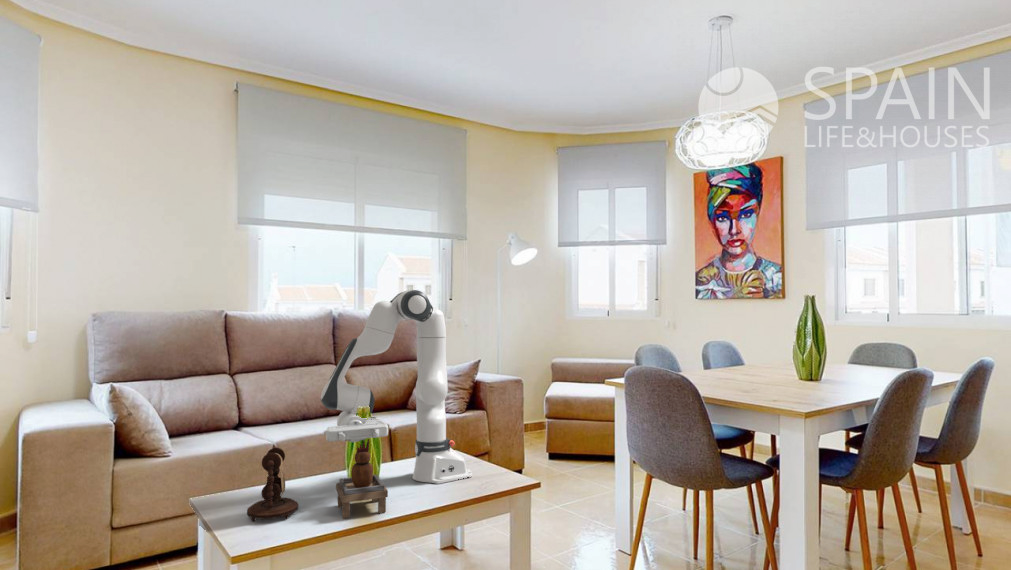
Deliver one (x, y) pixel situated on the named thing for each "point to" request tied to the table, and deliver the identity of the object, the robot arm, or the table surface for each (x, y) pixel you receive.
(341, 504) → the stool
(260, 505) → the dark brown tall figurine
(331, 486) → the table surface
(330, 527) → the table surface
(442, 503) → the table surface
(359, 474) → the wooden figurine
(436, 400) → the robot arm
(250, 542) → the table surface
